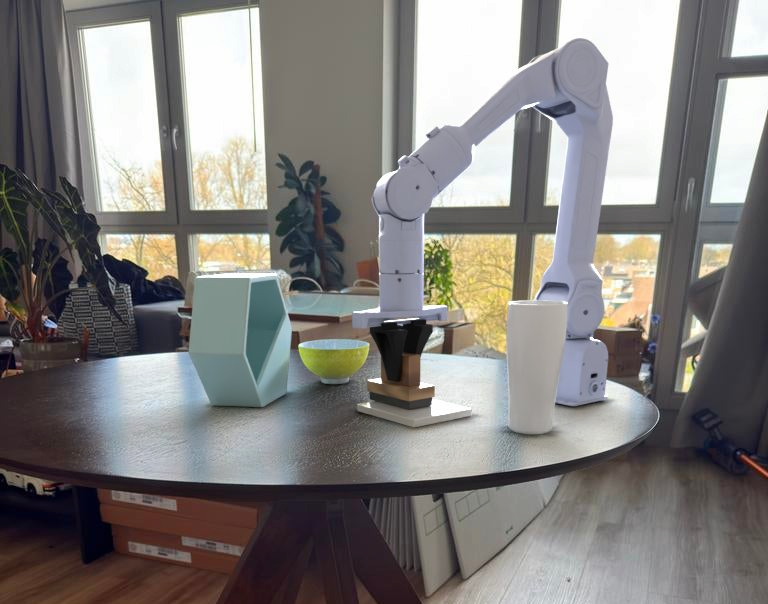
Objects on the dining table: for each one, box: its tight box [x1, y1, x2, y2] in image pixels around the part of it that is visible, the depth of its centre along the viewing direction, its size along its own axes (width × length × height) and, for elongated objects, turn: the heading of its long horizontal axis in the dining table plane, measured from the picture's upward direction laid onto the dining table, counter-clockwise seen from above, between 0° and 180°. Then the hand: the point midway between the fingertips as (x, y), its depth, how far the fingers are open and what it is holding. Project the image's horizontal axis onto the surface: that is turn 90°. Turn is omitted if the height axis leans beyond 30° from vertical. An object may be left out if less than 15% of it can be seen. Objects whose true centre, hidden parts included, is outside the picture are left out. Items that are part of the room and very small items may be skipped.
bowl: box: [298, 338, 370, 385], centre depth 118 cm, size 11×12×6 cm
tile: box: [356, 398, 473, 428], centre depth 97 cm, size 12×10×1 cm
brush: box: [366, 352, 436, 410], centre depth 97 cm, size 9×4×7 cm, turn 38°
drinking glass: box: [505, 299, 568, 435], centre depth 85 cm, size 7×7×15 cm
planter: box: [188, 273, 293, 408], centre depth 102 cm, size 17×8×21 cm
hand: (401, 379), depth 97 cm, fingers closed on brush, 2 cm apart
